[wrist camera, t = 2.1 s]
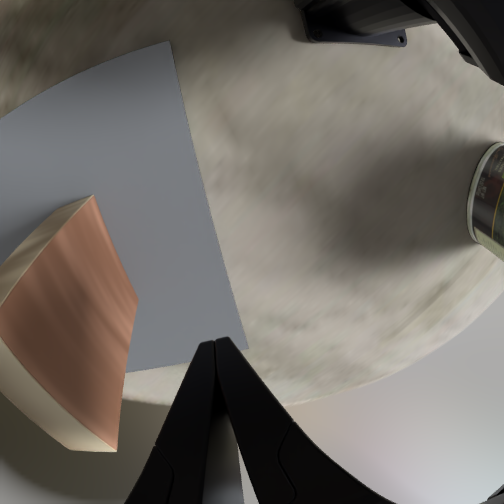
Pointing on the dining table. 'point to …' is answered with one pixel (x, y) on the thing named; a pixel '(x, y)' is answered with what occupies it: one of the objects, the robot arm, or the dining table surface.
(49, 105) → the rubber mat
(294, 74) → the dining table surface
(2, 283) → the maple tile
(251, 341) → the dining table surface
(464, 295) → the dining table surface
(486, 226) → the coffee can
